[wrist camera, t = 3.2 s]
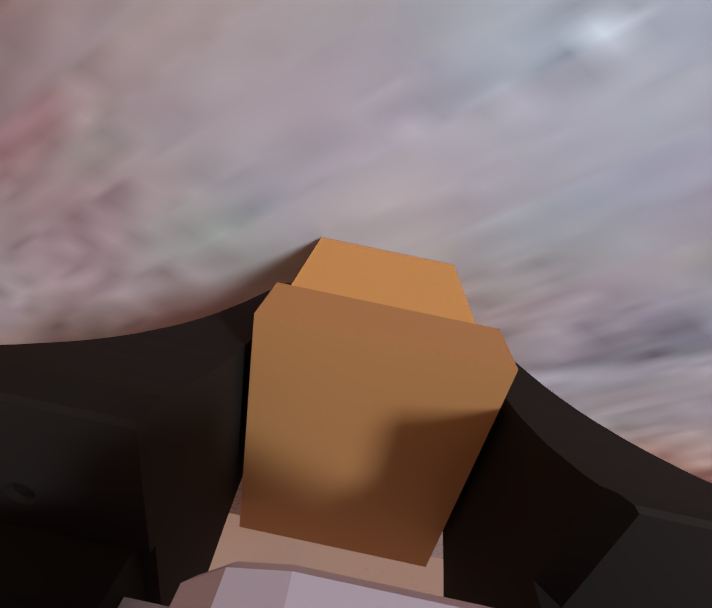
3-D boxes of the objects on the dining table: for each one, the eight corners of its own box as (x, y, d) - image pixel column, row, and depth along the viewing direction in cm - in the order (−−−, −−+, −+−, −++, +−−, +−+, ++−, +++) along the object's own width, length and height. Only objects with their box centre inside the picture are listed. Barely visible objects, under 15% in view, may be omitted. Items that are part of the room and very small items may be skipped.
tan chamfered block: (460, 246, 11) (518, 370, 6) (414, 385, 13) (425, 566, 8) (324, 217, 11) (254, 313, 6) (303, 362, 13) (239, 526, 8)
